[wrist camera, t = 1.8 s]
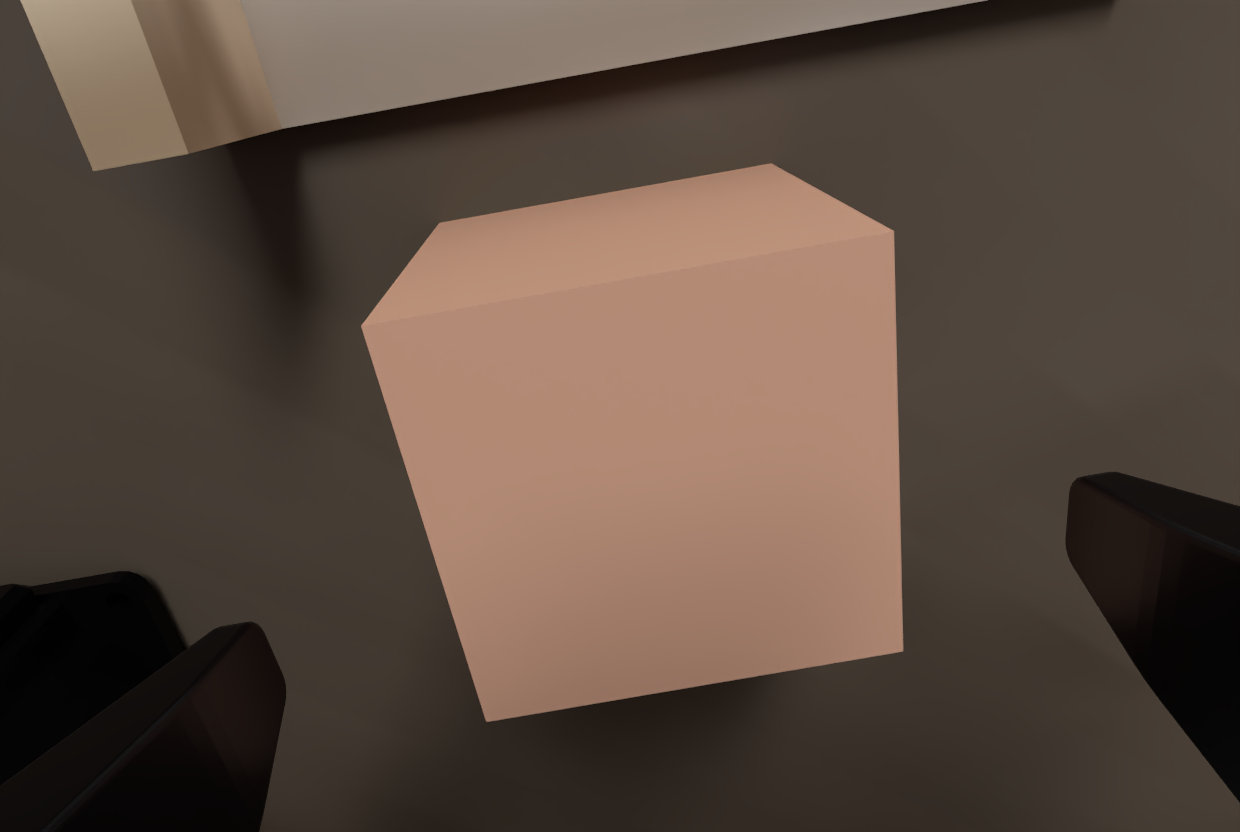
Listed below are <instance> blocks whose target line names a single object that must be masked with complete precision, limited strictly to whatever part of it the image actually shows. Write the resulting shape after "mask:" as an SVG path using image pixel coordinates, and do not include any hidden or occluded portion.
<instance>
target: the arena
mask: <svg viewBox="0 0 1240 832" xmlns="http://www.w3.org/2000/svg"><path fill="white" fill-rule="evenodd" d="M981 1H986V0H21V3H22V5H23V7H24V10H25V12H26V14H27V17H28V19H29V21H30V24H31V26H32V28H33V31H34V33H35V35H36V38H37V40H38V42H39V45H40V47H41V49H42V52H43V54H44V56H45V59H46V61H47V63H48V66H49V68H50V70H51V73H52V75H53V77H54V80H55V82H56V85H57V87H58V89H59V92H60V94H61V96H62V99H63V101H64V103H65V106H66V108H67V110H68V113H69V115H70V117H71V120H72V122H73V124H74V127H75V129H76V131H77V134H78V136H79V138H80V141H81V143H82V145H83V148H84V150H85V152H86V155H87V157H88V159H89V162H90V164H91V166H92V169H93V171H97V170H103V169H108V168H114V167H119V166H125V165H130V164H135V163H141V162H146V161H152V160H157V159H163V158H168V157H174V156H179V155H185V154H190V153H194V152H197V151H201V150H205V149H209V148H212V147H216V146H220V145H224V144H227V143H231V142H235V141H238V140H242V139H246V138H250V137H253V136H257V135H261V134H265V133H268V132H272V131H276V130H280V129H284V128H290V127H295V126H301V125H306V124H312V123H317V122H323V121H328V120H334V119H339V118H344V117H350V116H355V115H361V114H366V113H372V112H377V111H383V110H388V109H394V108H399V107H405V106H410V105H416V104H421V103H427V102H432V101H438V100H443V99H449V98H454V97H460V96H465V95H471V94H476V93H482V92H487V91H493V90H498V89H504V88H509V87H515V86H520V85H525V84H531V83H536V82H542V81H547V80H553V79H558V78H564V77H569V76H575V75H580V74H586V73H591V72H597V71H602V70H608V69H613V68H619V67H624V66H630V65H635V64H641V63H646V62H652V61H657V60H663V59H668V58H674V57H679V56H685V55H690V54H696V53H701V52H706V51H712V50H717V49H723V48H728V47H734V46H739V45H745V44H750V43H756V42H761V41H767V40H772V39H778V38H783V37H789V36H794V35H800V34H805V33H811V32H816V31H822V30H827V29H833V28H838V27H844V26H849V25H855V24H860V23H866V22H871V21H876V20H882V19H887V18H893V17H898V16H904V15H909V14H915V13H920V12H926V11H931V10H937V9H942V8H948V7H953V6H959V5H964V4H970V3H975V2H981Z"/></svg>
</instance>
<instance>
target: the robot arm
mask: <svg viewBox="0 0 1240 832" xmlns="http://www.w3.org/2000/svg"><path fill="white" fill-rule="evenodd" d="M1066 550H1067V554H1068V557H1069V559H1070V562H1071V564H1072V565H1073V567H1074V569H1075V570H1076V572H1077V574H1078V575H1079V577H1080V578H1081V580H1082V582H1083V583H1084V585H1085V586H1086V588H1087V590H1088V591H1089V593H1090V594H1091V596H1092V598H1093V599H1094V601H1095V602H1096V604H1097V606H1098V607H1099V609H1100V610H1101V612H1102V614H1103V615H1104V617H1105V618H1106V620H1107V622H1108V623H1109V625H1110V626H1111V628H1112V630H1113V631H1114V633H1115V634H1116V636H1117V638H1118V639H1119V641H1120V642H1121V644H1122V646H1123V647H1124V649H1125V650H1126V652H1127V654H1128V655H1129V657H1130V658H1131V660H1132V662H1133V663H1134V665H1135V666H1136V667H1137V669H1138V670H1139V672H1140V673H1141V675H1142V676H1143V678H1144V679H1145V681H1146V682H1147V684H1148V685H1149V686H1150V688H1151V689H1152V690H1153V692H1154V693H1155V694H1156V696H1157V697H1158V698H1159V700H1160V701H1161V702H1162V704H1163V705H1164V706H1165V707H1166V709H1167V710H1168V711H1169V713H1170V714H1171V715H1172V716H1173V718H1174V719H1175V720H1176V721H1177V723H1178V724H1179V725H1180V727H1181V728H1182V729H1183V730H1184V732H1185V733H1186V734H1187V736H1188V737H1189V738H1190V739H1191V741H1192V742H1193V743H1194V745H1195V746H1196V747H1197V748H1198V750H1199V751H1200V752H1201V753H1202V755H1203V756H1204V757H1205V759H1206V760H1207V761H1208V762H1209V764H1210V765H1211V766H1212V768H1213V769H1214V770H1215V771H1216V773H1217V774H1218V775H1219V777H1220V778H1221V779H1222V780H1223V782H1224V783H1225V784H1226V785H1227V787H1228V788H1229V789H1230V791H1231V792H1232V793H1233V794H1234V796H1235V797H1236V798H1237V800H1238V801H1239V802H1240V506H1237V505H1233V504H1230V503H1226V502H1223V501H1219V500H1215V499H1212V498H1208V497H1205V496H1201V495H1198V494H1194V493H1190V492H1187V491H1183V490H1180V489H1176V488H1173V487H1169V486H1165V485H1162V484H1158V483H1155V482H1151V481H1147V480H1144V479H1140V478H1137V477H1133V476H1130V475H1126V474H1122V473H1119V472H1105V473H1100V474H1094V475H1088V476H1083V477H1079V478H1077V479H1076V480H1075V481H1074V482H1073V483H1072V485H1071V487H1070V492H1069V503H1068V515H1067V528H1066ZM117 593H122V594H124V595H126V596H127V597H128V598H129V599H130V600H131V601H128V600H125V599H123V598H121V597H120V596H119V595H118V594H117ZM285 701H286V684H285V680H284V676H283V674H282V671H281V669H280V667H279V665H278V662H277V660H276V658H275V656H274V653H273V651H272V649H271V647H270V644H269V642H268V640H267V638H266V635H265V633H264V631H263V630H262V628H261V627H260V626H259V625H258V624H256V623H254V622H244V623H238V624H232V625H226V626H221V627H218V628H215V629H214V630H212V631H211V632H209V633H208V634H207V635H205V636H204V637H203V638H201V639H200V640H199V641H197V642H196V643H194V644H193V645H192V646H190V647H189V648H188V649H186V650H185V651H184V650H183V648H182V646H181V644H180V642H179V640H178V638H177V636H176V634H175V632H174V630H173V628H172V626H171V624H170V622H169V620H168V618H167V616H166V614H165V612H164V610H163V608H162V606H161V604H160V602H159V600H158V598H157V596H156V594H155V592H154V590H153V588H152V587H151V585H150V584H149V583H148V581H147V580H146V579H144V578H143V577H141V576H140V575H138V574H135V573H132V572H129V571H118V572H112V573H106V574H101V575H95V576H89V577H83V578H78V579H72V580H66V581H60V582H55V583H49V584H43V585H37V586H31V587H29V586H26V585H19V584H8V585H3V586H0V832H259V830H260V826H261V822H262V817H263V813H264V808H265V803H266V798H267V793H268V788H269V783H270V778H271V773H272V768H273V763H274V757H275V752H276V747H277V742H278V737H279V732H280V727H281V722H282V717H283V712H284V706H285Z"/></svg>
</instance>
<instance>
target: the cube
mask: <svg viewBox="0 0 1240 832" xmlns="http://www.w3.org/2000/svg"><path fill="white" fill-rule="evenodd" d="M361 327H362V330H363V334H364V337H365V340H366V343H367V346H368V349H369V353H370V356H371V359H372V362H373V365H374V368H375V372H376V375H377V378H378V381H379V384H380V387H381V390H382V394H383V397H384V400H385V403H386V406H387V409H388V413H389V416H390V419H391V422H392V425H393V428H394V432H395V435H396V438H397V441H398V444H399V447H400V451H401V454H402V457H403V460H404V463H405V466H406V470H407V473H408V476H409V479H410V482H411V485H412V489H413V492H414V495H415V498H416V501H417V504H418V507H419V511H420V514H421V517H422V520H423V523H424V526H425V530H426V533H427V536H428V539H429V542H430V545H431V549H432V552H433V555H434V558H435V561H436V564H437V568H438V571H439V574H440V577H441V580H442V583H443V587H444V590H445V593H446V596H447V599H448V602H449V606H450V609H451V612H452V615H453V618H454V621H455V625H456V628H457V631H458V634H459V637H460V640H461V643H462V647H463V650H464V653H465V656H466V659H467V662H468V666H469V669H470V672H471V675H472V678H473V681H474V685H475V688H476V691H477V694H478V697H479V700H480V704H481V707H482V710H483V713H484V716H485V719H486V722H490V721H496V720H502V719H507V718H513V717H519V716H525V715H531V714H537V713H543V712H549V711H555V710H561V709H566V708H572V707H578V706H584V705H590V704H596V703H602V702H608V701H614V700H620V699H625V698H631V697H637V696H643V695H649V694H655V693H661V692H667V691H673V690H679V689H684V688H690V687H696V686H702V685H708V684H714V683H720V682H726V681H732V680H737V679H743V678H749V677H755V676H761V675H767V674H773V673H779V672H785V671H791V670H796V669H802V668H808V667H814V666H820V665H826V664H832V663H838V662H844V661H850V660H855V659H861V658H867V657H873V656H879V655H885V654H891V653H897V652H903V622H902V576H901V531H900V485H899V440H898V395H897V349H896V304H895V259H894V231H893V230H891V229H889V228H887V227H885V226H884V225H882V224H880V223H878V222H876V221H875V220H873V219H871V218H869V217H867V216H866V215H864V214H862V213H860V212H858V211H856V210H855V209H853V208H851V207H849V206H847V205H846V204H844V203H842V202H840V201H838V200H837V199H835V198H833V197H831V196H829V195H827V194H826V193H824V192H822V191H820V190H818V189H817V188H815V187H813V186H811V185H809V184H808V183H806V182H804V181H802V180H800V179H799V178H797V177H795V176H793V175H791V174H789V173H788V172H786V171H784V170H782V169H780V168H779V167H777V166H775V165H773V164H766V165H760V166H755V167H749V168H743V169H738V170H732V171H727V172H721V173H716V174H710V175H704V176H699V177H693V178H688V179H682V180H677V181H671V182H665V183H660V184H654V185H649V186H643V187H638V188H632V189H626V190H621V191H615V192H610V193H604V194H599V195H593V196H588V197H582V198H576V199H571V200H565V201H560V202H554V203H549V204H543V205H537V206H532V207H526V208H521V209H515V210H510V211H504V212H498V213H493V214H487V215H482V216H476V217H471V218H465V219H459V220H454V221H448V222H443V223H439V224H438V225H437V227H436V228H435V229H434V231H433V232H432V233H431V235H430V236H429V237H428V239H427V240H426V241H425V243H424V244H423V245H422V247H421V248H420V249H419V250H418V252H417V253H416V254H415V256H414V257H413V258H412V260H411V261H410V262H409V264H408V265H407V266H406V268H405V269H404V270H403V272H402V273H401V274H400V275H399V277H398V278H397V279H396V281H395V282H394V283H393V285H392V286H391V287H390V289H389V290H388V291H387V293H386V294H385V295H384V297H383V298H382V299H381V301H380V302H379V303H378V304H377V306H376V307H375V308H374V310H373V311H372V312H371V314H370V315H369V316H368V318H367V319H366V320H365V322H364V323H363V324H362V326H361Z"/></svg>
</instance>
